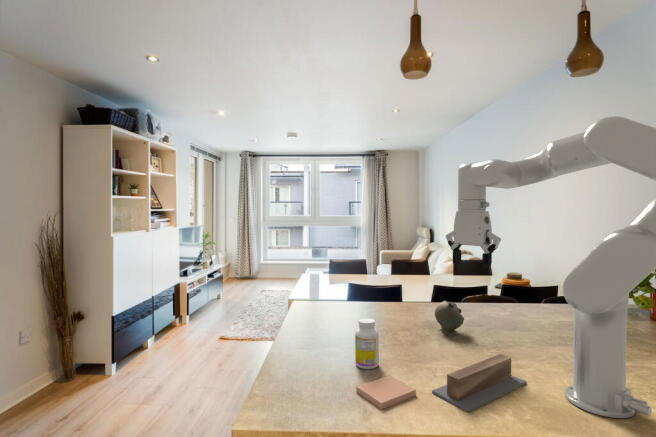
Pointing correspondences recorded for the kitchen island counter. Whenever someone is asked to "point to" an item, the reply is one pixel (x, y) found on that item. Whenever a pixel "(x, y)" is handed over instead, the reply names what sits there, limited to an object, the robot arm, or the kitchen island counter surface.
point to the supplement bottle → (366, 344)
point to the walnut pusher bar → (478, 377)
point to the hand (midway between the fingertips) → (471, 265)
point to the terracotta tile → (385, 391)
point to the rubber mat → (482, 394)
